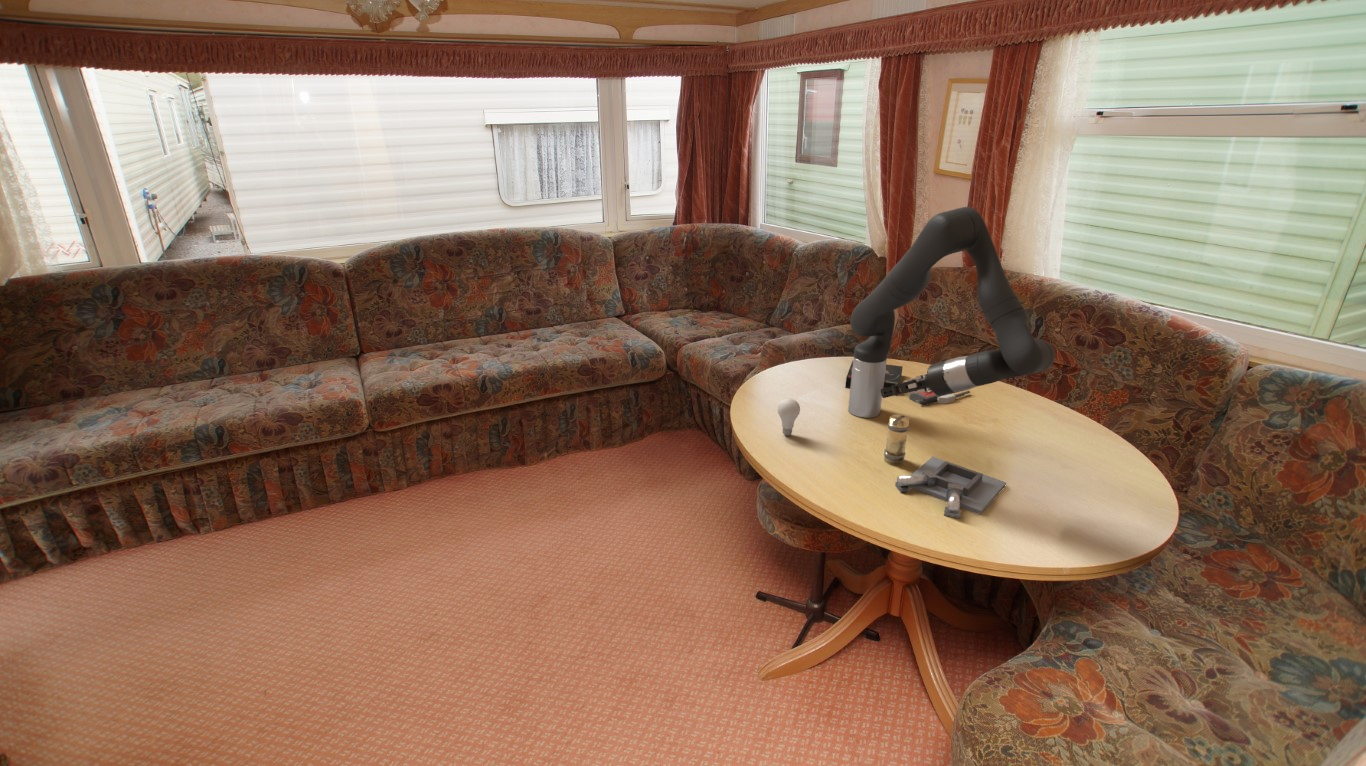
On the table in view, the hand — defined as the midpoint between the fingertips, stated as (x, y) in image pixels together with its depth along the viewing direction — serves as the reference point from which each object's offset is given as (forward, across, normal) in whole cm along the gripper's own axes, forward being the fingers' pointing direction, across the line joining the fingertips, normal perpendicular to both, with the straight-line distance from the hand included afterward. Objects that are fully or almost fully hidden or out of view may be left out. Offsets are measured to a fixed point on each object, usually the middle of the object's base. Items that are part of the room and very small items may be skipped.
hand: (891, 391), depth 153 cm
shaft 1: (0, +2, +23) cm, 23 cm away
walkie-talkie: (+16, -50, +5) cm, 53 cm away
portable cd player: (+34, -46, -5) cm, 57 cm away
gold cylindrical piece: (+8, -6, +17) cm, 20 cm away
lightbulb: (+32, +4, +5) cm, 33 cm away
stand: (-6, -6, +25) cm, 26 cm away
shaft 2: (-9, +3, +29) cm, 30 cm away
